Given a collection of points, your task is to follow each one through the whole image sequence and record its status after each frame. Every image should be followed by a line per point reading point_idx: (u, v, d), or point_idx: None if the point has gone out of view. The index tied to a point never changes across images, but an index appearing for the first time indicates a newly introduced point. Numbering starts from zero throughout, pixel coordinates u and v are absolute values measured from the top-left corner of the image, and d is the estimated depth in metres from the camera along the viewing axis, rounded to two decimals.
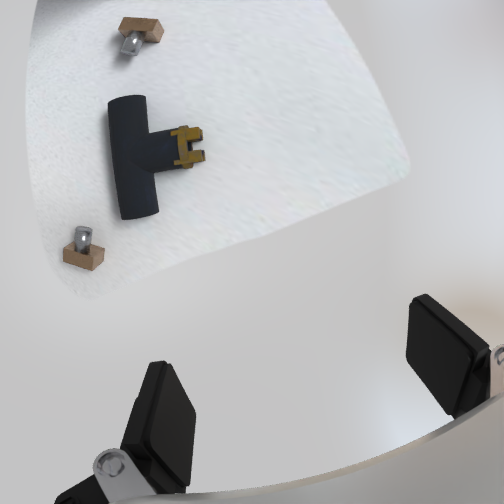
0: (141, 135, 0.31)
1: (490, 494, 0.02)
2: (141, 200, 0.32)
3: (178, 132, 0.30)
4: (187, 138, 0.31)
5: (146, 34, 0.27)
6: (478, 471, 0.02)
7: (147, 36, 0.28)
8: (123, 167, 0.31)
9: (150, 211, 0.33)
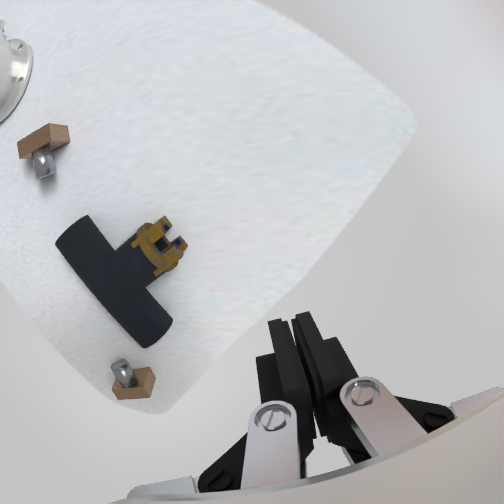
0: (106, 261, 0.27)
1: (490, 494, 0.02)
2: (147, 325, 0.28)
3: (138, 241, 0.26)
4: (151, 242, 0.26)
5: (49, 145, 0.23)
6: (478, 471, 0.02)
7: (53, 145, 0.24)
8: (109, 302, 0.27)
9: (163, 329, 0.29)
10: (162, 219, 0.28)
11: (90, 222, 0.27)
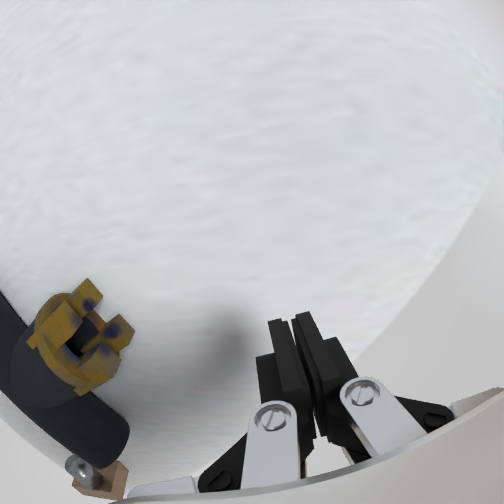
0: (8, 356, 0.12)
1: (490, 494, 0.02)
2: (88, 448, 0.13)
3: (35, 340, 0.11)
4: (56, 345, 0.11)
5: None
6: (478, 471, 0.02)
7: None
8: (27, 414, 0.12)
9: (114, 451, 0.14)
10: (79, 290, 0.13)
11: None
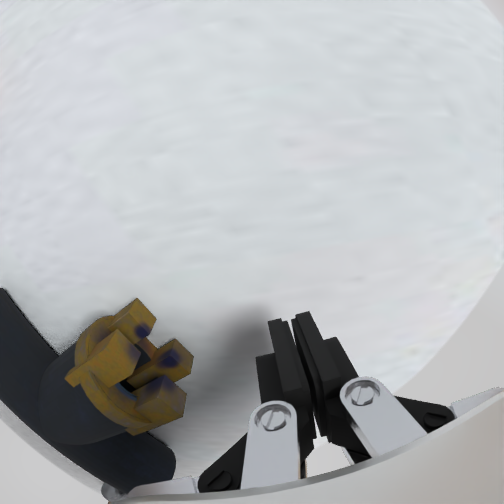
0: (35, 389, 0.10)
1: (490, 494, 0.02)
2: (132, 482, 0.12)
3: (79, 377, 0.09)
4: (108, 383, 0.09)
5: None
6: (478, 471, 0.02)
7: None
8: (60, 450, 0.10)
9: None
10: (130, 314, 0.11)
11: None
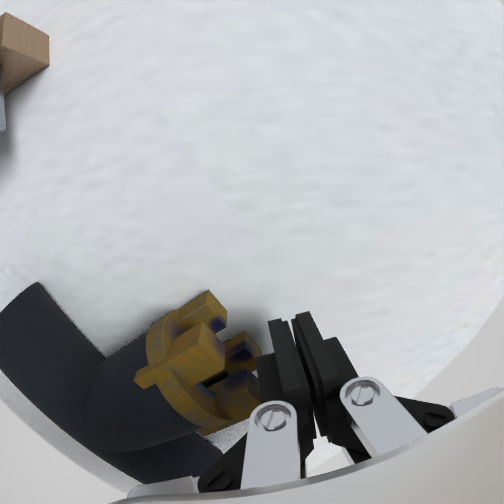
0: (84, 394, 0.10)
1: (490, 494, 0.02)
2: None
3: (155, 378, 0.09)
4: (191, 382, 0.09)
5: (0, 64, 0.06)
6: (478, 471, 0.02)
7: (9, 68, 0.07)
8: (107, 459, 0.11)
9: None
10: (207, 306, 0.11)
11: (38, 303, 0.10)
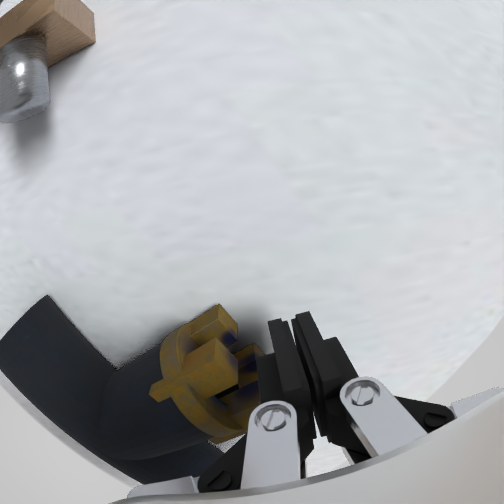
0: (96, 405, 0.10)
1: (490, 494, 0.02)
2: None
3: (170, 392, 0.09)
4: (205, 395, 0.10)
5: (45, 34, 0.06)
6: (478, 471, 0.02)
7: (54, 40, 0.07)
8: (118, 467, 0.11)
9: None
10: (219, 321, 0.12)
11: (49, 317, 0.11)
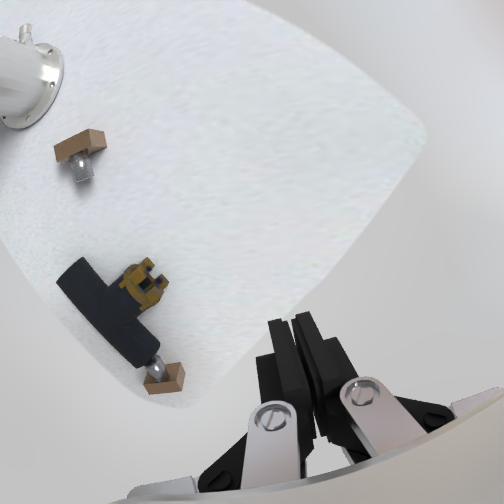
0: (100, 297, 0.31)
1: (490, 494, 0.02)
2: (137, 350, 0.32)
3: (125, 283, 0.30)
4: (135, 284, 0.30)
5: (88, 149, 0.27)
6: (478, 471, 0.02)
7: (91, 150, 0.27)
8: (105, 332, 0.31)
9: (151, 353, 0.33)
10: (145, 261, 0.32)
11: (84, 264, 0.31)
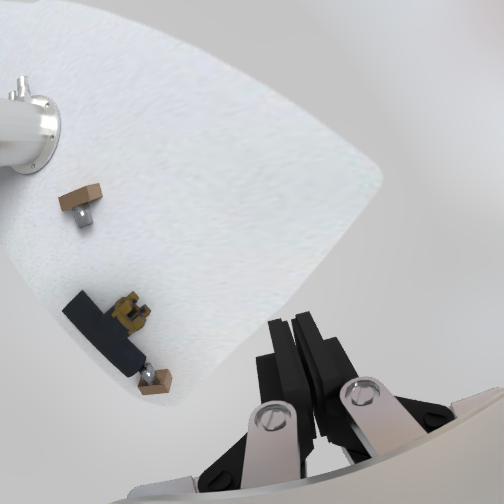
0: (97, 323, 0.38)
1: (490, 494, 0.02)
2: (128, 363, 0.40)
3: (116, 313, 0.37)
4: (124, 314, 0.37)
5: (87, 201, 0.34)
6: (478, 471, 0.02)
7: (89, 200, 0.35)
8: (102, 349, 0.39)
9: (139, 365, 0.41)
10: (131, 295, 0.40)
11: (84, 296, 0.39)
